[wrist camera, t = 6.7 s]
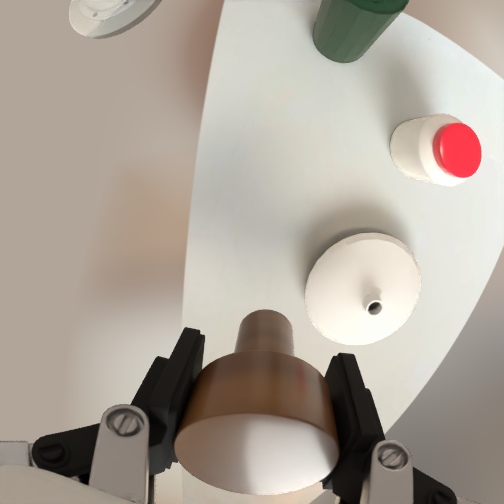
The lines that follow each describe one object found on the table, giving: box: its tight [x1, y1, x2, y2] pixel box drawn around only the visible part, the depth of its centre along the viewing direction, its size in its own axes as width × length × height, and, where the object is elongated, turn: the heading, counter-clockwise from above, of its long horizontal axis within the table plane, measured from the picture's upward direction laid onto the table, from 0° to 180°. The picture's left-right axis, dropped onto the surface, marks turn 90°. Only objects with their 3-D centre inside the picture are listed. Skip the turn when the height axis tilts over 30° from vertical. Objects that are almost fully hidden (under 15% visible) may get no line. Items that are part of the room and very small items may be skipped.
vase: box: [305, 232, 421, 345], centre depth 36 cm, size 16×16×7 cm
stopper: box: [173, 310, 340, 495], centre depth 10 cm, size 5×5×7 cm
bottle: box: [313, 0, 409, 63], centre depth 20 cm, size 7×7×20 cm
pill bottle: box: [390, 114, 481, 186], centre depth 28 cm, size 8×8×11 cm
